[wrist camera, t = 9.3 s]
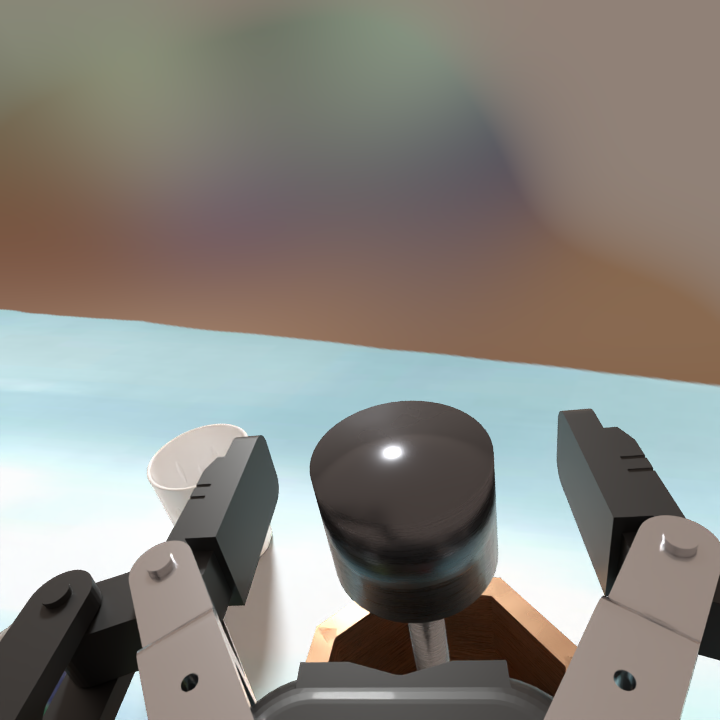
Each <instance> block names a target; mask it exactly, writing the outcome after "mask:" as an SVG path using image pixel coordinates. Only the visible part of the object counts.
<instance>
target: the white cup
mask: <svg viewBox="0 0 720 720" xmlns="http://www.w3.org/2000/svg"><path fill="white" fill-rule="evenodd" d="M247 436H248V435H247V433H246V432H245V431H244V430H243V429H241V428H239V427H237V426H234V425H230V424H212V425H207V426H202V427H199V428H195V429H193V430H190V431H188V432H185V433H183V434H181V435H179V436H177V437H176V438H174V439H172V440H171V441H169V442H168V443H167V444H165V445H164V446H163V447H162V448H161V449H160V450H159V451H158V452H157V453H156V454H155V455H154V456H153V458H152V459H151V461H150V463H149V465H148V468H147V477H148V480H149V482H150V484H151V485H152V487H153V489H154V491H155V492H156V494H157V496H158V498H159V500H160V502H161V503H162V505H163V507H164V509H165V511H166V512H167V514H168V516H169V518H170V520H171V522H172V523H173V525H174V526H175V524H176V522H177V520H178V518H179V516H180V515H181V513H182V511H183V509H184V507H185V505H186V503H187V501H188V500H189V499H190V496H191V494H192V492H193V490H194V488H196V484H197V482H198V480H199V479H200V477H201V475H202V473H203V471H204V470H205V469H206V468H207V467H208V466H209V465H210V464H211V463H212V462H213V461H214V460H215V459H216V458H217V457H224V456H225V455H226V453H227V451H228V449H229V447H230V445H231V443H232V441H233V439H234V438H236V437H247ZM271 537H272V529H271V526H269V529H268V532H267V535H266V538H265V542H264V545H263V548H262V551H261V554H260V557H261V556H262V554H263V553H264V552H265V551H266V550H267V548H268V547H269V543H270V540H271Z"/></svg>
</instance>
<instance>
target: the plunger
mask: <svg viewBox="0 0 720 720" xmlns="http://www.w3.org/2000/svg"><path fill="white" fill-rule="evenodd" d="M310 476H311V481H312V485H313V488H314V492H315V496H316V499H317V503H318V506H319V510H320V514H321V517H322V521H323V525H324V528H325V532H326V536H327V539H328V543H329V546H330V550H331V554H332V557H333V561H334V565H335V568H336V572H337V576H338V578H339V580H340V583H341V585H342V587H343V588H344V590H345V592H346V593H347V594H348V595H349V596H350V598H351V599H352V600H353V601H354V602H355V603H357V604H358V605H359V606H360V607H361V608H363V609H365V610H366V611H368V612H369V613H371V614H374V615H376V616H378V617H380V618H383V619H387V620H390V621H395V622H400V623H408V625H409V631H410V636H411V641H412V647H413V652H414V657H415V663H416V668H417V671H419V670H422V669H426V668H429V667H433V666H436V665H440V664H443V663H447V662H450V659H449V651H448V644H447V636H446V629H445V621H444V618H447V617H450V616H452V615H454V614H456V613H458V612H460V611H462V610H464V609H465V608H467V607H468V606H470V605H471V604H472V603H473V602H474V601H476V600H477V599H478V598H479V597H480V596H481V595H482V593H483V592H484V591H485V590H486V589H487V587H488V585H489V584H490V582H491V580H492V578H493V576H494V573H495V571H496V566H497V562H498V538H497V516H496V494H495V472H494V452H493V445H492V442H491V439H490V437H489V435H488V433H487V432H486V430H485V429H484V428H483V427H482V425H481V424H480V423H479V422H477V421H476V420H475V419H474V418H472V417H471V416H469V415H468V414H466V413H464V412H462V411H460V410H458V409H456V408H453V407H450V406H447V405H443V404H439V403H433V402H425V401H400V402H391V403H386V404H381V405H377V406H374V407H370V408H367V409H365V410H362V411H359V412H357V413H355V414H353V415H351V416H349V417H347V418H345V419H344V420H342V421H341V422H339V423H338V424H336V425H335V426H334V427H333V428H331V429H330V430H329V431H328V432H327V433H326V434H325V435H324V436H323V437H322V439H321V440H320V441H319V443H318V444H317V446H316V448H315V450H314V452H313V454H312V457H311V462H310Z"/></svg>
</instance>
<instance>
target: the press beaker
mask: <svg viewBox="0 0 720 720" xmlns="http://www.w3.org/2000/svg"><path fill="white" fill-rule="evenodd" d="M444 621H445V629H446V636H447V644H448V651H449V659H450V661H466V660H506V661H507V667H508V673H509V678H512V679H516V680H520V681H522V682H525V683H527V684H530V685H532V686H535V687H536V688H538V689H540V690H542V691H544V692H546V693H548V694H549V695H550V696H552V697H553V698H554V696H555V694H556V692H557V690H558V688H559V685H560V683H561V681H562V679H563V677H564V675H565V673H566V670H567V668H568V666H569V664H570V662H571V660H572V657H573V655H574V653H575V651H576V649H577V646H576V645H575V644H574V643H572V642H571V641H570V640H569V639H568V638H567V637H566V636H565V635H563V634H562V633H561V632H560V631H559V630H558V629H557V628H556V627H555V626H553V625H552V624H551V623H550V622H549V621H548V620H547V619H546V618H545V617H543V616H542V615H541V614H540V613H539V612H538V611H537V610H536V609H534V608H533V607H532V606H531V605H530V604H529V603H528V602H527V601H526V600H524V599H523V598H522V597H521V596H520V595H519V594H518V593H517V592H515V591H514V590H513V589H512V588H511V587H510V586H509V585H508V584H507V583H505V582H504V581H503V580H502V579H501V578H496V577H493V578H492V580H491V582H490V584H489V585H488V587H487V589H486V590H485V591H484V592H483V593H482V595H481V596H480V597H479V598H478V599H477V600H476V601H474V602H473V603H472V604H471V605H470V606H468V607H467V608H465V609H464V610H462V611H460V612H458V613H456V614H454V615H452V616H450V617H447V618H444ZM306 662H351V663H355V664H358V665H362V666H366V667H369V668H373V669H377V670H380V671H384V672H387V673H391V674H395V675H404V674H408V673H412V672H415V671H417V668H416V663H415V657H414V652H413V647H412V641H411V636H410V631H409V625H408V623H400V622H395V621H390V620H387V619H383V618H380V617H378V616H376V615H374V614H371V613H369V612H368V611H366V610H365V609H363V608H361V607H360V606H359V605H358V604H357V603H355V602H352V603H351V604H349V605H348V606H346V607H345V608H343V609H342V610H340V611H339V612H337V613H336V614H334V615H333V616H332V617H330V618H329V619H327V620H326V621H324V622H323V623H321V624H320V625H318V626H317V627H316V631H315V634H314V637H313V640H312V644H311V647H310V650H309V653H308V657H307V660H306Z"/></svg>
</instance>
